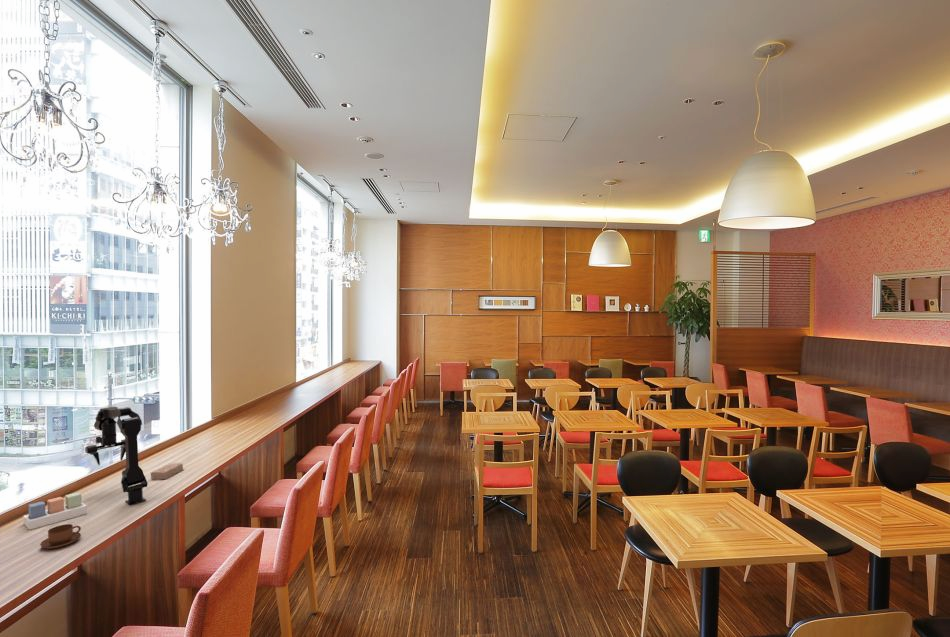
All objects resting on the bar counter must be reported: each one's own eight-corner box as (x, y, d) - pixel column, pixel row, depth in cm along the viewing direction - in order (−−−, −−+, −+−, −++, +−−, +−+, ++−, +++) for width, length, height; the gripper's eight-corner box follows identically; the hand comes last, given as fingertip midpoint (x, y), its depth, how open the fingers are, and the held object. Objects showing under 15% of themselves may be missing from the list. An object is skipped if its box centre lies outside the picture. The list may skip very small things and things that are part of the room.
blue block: (45, 517, 206) (45, 503, 206) (31, 521, 203) (30, 507, 203) (42, 514, 209) (42, 501, 209) (28, 518, 205) (28, 504, 205)
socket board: (87, 513, 216) (86, 505, 216) (29, 529, 200) (29, 521, 200) (80, 508, 222) (80, 500, 222) (23, 523, 206) (23, 515, 206)
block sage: (81, 507, 216) (81, 494, 216) (68, 511, 213) (68, 497, 212) (78, 505, 219) (78, 492, 219) (65, 508, 215) (65, 495, 215)
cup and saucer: (67, 535, 195) (66, 520, 195) (88, 538, 191) (87, 523, 191) (32, 549, 183) (31, 533, 183) (54, 553, 180) (53, 537, 180)
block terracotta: (64, 512, 211) (63, 498, 211) (50, 516, 208) (50, 502, 207) (61, 509, 214) (60, 496, 214) (47, 513, 210) (47, 500, 210)
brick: (169, 470, 274) (168, 462, 274) (184, 469, 274) (183, 461, 274) (150, 480, 258) (149, 472, 258) (165, 480, 258) (165, 471, 258)
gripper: (127, 426, 255) (128, 455, 255) (82, 433, 241) (83, 464, 241) (132, 429, 248) (133, 459, 248) (87, 437, 234) (88, 468, 234)
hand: (110, 462), depth 243 cm, fingers open, 9 cm apart
